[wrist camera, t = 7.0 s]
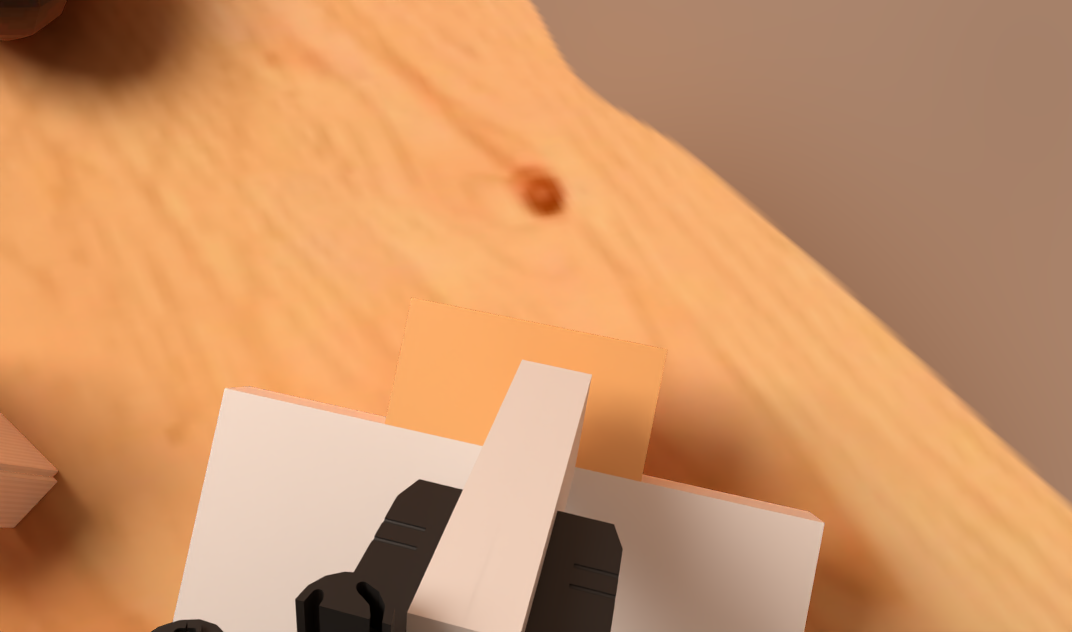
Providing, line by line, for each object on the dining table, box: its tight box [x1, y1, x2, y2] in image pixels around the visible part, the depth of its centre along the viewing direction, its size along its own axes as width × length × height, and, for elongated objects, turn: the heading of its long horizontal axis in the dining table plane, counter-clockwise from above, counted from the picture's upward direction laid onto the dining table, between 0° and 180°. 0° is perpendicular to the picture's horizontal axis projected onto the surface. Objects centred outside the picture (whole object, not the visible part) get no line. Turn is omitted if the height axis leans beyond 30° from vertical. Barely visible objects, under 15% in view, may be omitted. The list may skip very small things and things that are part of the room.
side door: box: [173, 298, 825, 632], centre depth 17 cm, size 1×14×15 cm
